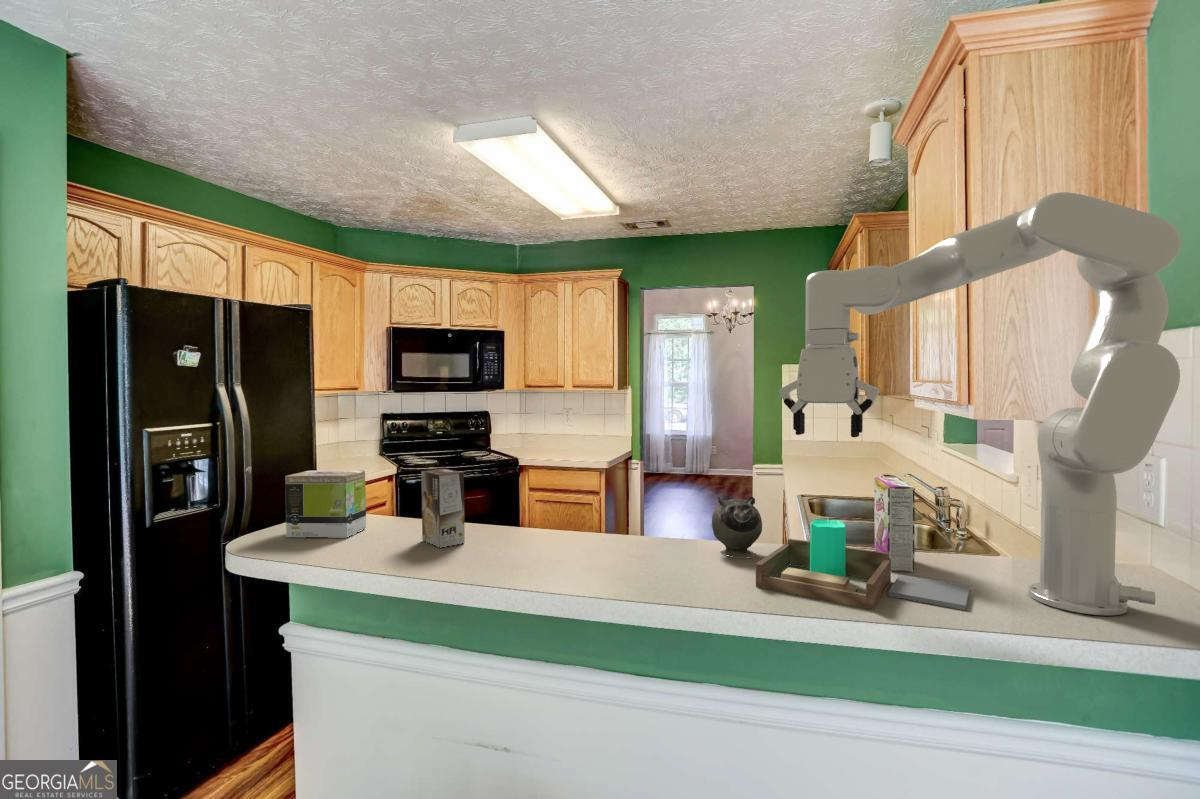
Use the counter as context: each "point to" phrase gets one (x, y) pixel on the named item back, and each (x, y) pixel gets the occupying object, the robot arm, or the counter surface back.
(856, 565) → the wooden tray
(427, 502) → the coffee box
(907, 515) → the candy bar box
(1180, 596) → the counter surface
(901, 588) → the mat
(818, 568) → the candle
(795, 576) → the offcut stack
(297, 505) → the tea box
